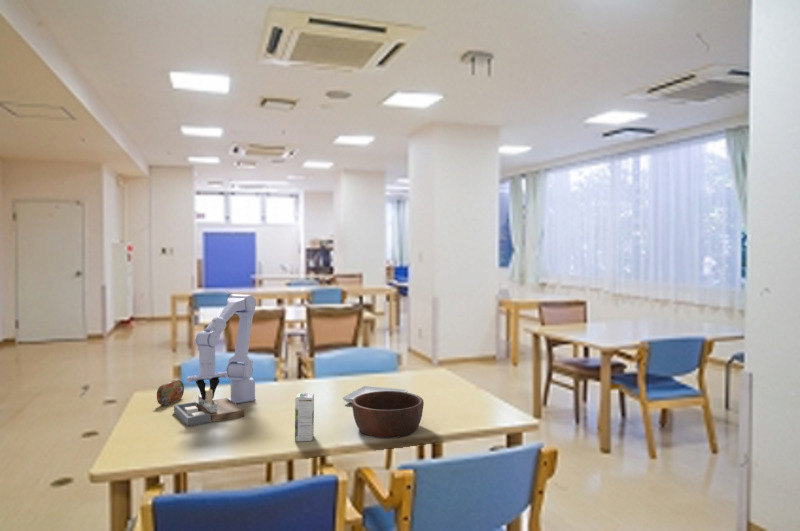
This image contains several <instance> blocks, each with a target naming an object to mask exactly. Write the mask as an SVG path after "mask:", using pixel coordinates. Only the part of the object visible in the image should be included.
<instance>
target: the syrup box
mask: <svg viewBox="0 0 800 531" xmlns="http://www.w3.org/2000/svg"><path fill="white" fill-rule="evenodd" d="M294 401H295V403H294V404H295V409H294V410H295V411H294V413H295V414H294V416H295V417H294V442H312V441H313V439H314V438H313V437H314V434H315V433H314V432H315V430H314V429H315V428H314V426H315V394H314V393H311V392H309V393H308V392H302V393H301V392H300V393H297V395H296V397H295V399H294Z"/></svg>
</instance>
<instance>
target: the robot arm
mask: <svg viewBox="0 0 800 531" xmlns="http://www.w3.org/2000/svg"><path fill="white" fill-rule="evenodd" d="M256 302H257V300H256V299H255V297H254V295H253V294H235V293H233V294H232V293H231V294H230V295H229V296H228V298H227V299H226V305H225V307H224V309H223V310H222V312H221V313H220V314H219V315H218V316H217V317H213V318H212V319H211V322H209V324H208V325H207V326H206V327H205V328H204V330H202V331H200V332H198V333H197V335H196V338H195V340H194V341H195V344H196V346H197V351H198V352H199V353H198V354H199V355H198V362H199V366H198V367H199V374H194V375H189V376H186V382H187V383H193V382H195V383H196V385H197V387H198V390H199V392H200V395H201V397H202V399H203V400H205V388H206V382H205V381H207V380H209V388H211V389H212V390H213V399H214V398H215V392H216V389H217V387H218V385H219V383H220V379H221V378H223V379H224V378H228V380H229V381H230V397H228V399H229V400H231V401H232V402H234V403H235V404H242V403H246V402H251V401H256V383H255V379H254V378H253V377H252V376H253V373H254V365H253V364H254V363H253V360H252V359H251V358H250V357H249V348H250V342H251V341H250V340H251V332H252V326H253V320H254V319H253V317H254V315H255V311H256V306H257V305H256V304H257V303H256ZM234 314H235V315H237V316H238V317H239V320H238V327H237V333H236V334H237V335H236V342H235V350H234V355H232V356H231V357H230V358H228V363H227V366H226V368H225V371H217V372H216V346H217V345H218V344H219V340H220V337H221V335H222V333H223V332H224V330H225V329H226V328H227V323H228V321H229V320H230V319H231V318H232V317H233V315H234Z"/></svg>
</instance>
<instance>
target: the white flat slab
mask: <svg viewBox="0 0 800 531" xmlns="http://www.w3.org/2000/svg"><path fill="white" fill-rule="evenodd" d="M197 398H198V402H199V404H200V405H201V406H203V407H204V408H205V409H206V410H208V411H209V412H210V413H215V412H217V403H215V402H214V401H213V400H214V398H213V390H212V389H211V388H210V387H205V400H203V399H202V397H201V394H199V395H198V397H197Z"/></svg>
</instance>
